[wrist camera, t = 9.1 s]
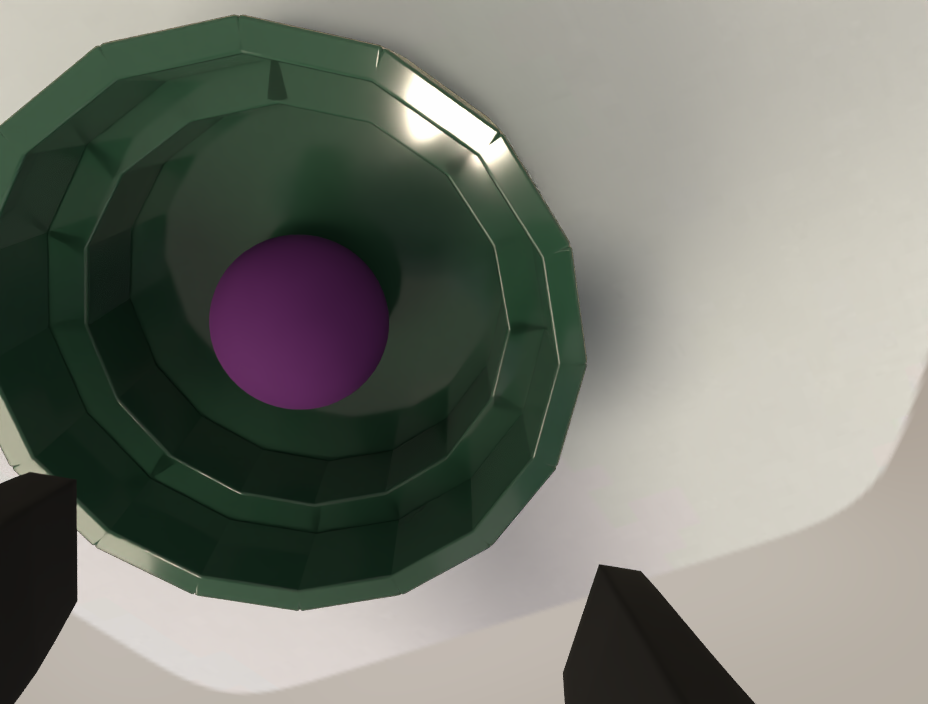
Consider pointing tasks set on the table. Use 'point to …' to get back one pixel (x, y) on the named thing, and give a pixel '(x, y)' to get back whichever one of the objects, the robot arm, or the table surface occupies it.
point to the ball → (299, 322)
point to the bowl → (197, 275)
